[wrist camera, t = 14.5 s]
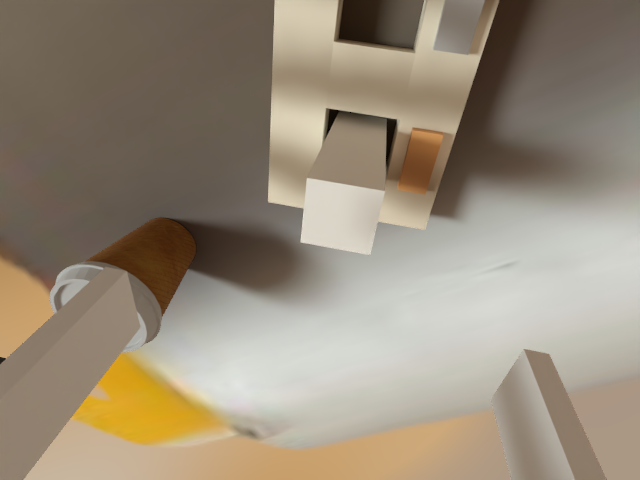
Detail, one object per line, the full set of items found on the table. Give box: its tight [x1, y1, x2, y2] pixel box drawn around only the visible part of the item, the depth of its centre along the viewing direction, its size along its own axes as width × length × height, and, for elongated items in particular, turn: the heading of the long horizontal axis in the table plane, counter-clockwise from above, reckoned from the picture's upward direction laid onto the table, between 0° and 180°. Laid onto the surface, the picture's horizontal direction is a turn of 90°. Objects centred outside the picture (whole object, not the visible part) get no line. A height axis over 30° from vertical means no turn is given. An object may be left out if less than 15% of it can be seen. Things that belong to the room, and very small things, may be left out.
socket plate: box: [268, 0, 499, 230], centre depth 26 cm, size 22×14×4 cm, turn 174°
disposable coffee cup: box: [50, 218, 196, 352], centre depth 36 cm, size 10×10×12 cm
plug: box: [301, 111, 387, 255], centre depth 25 cm, size 4×4×14 cm
